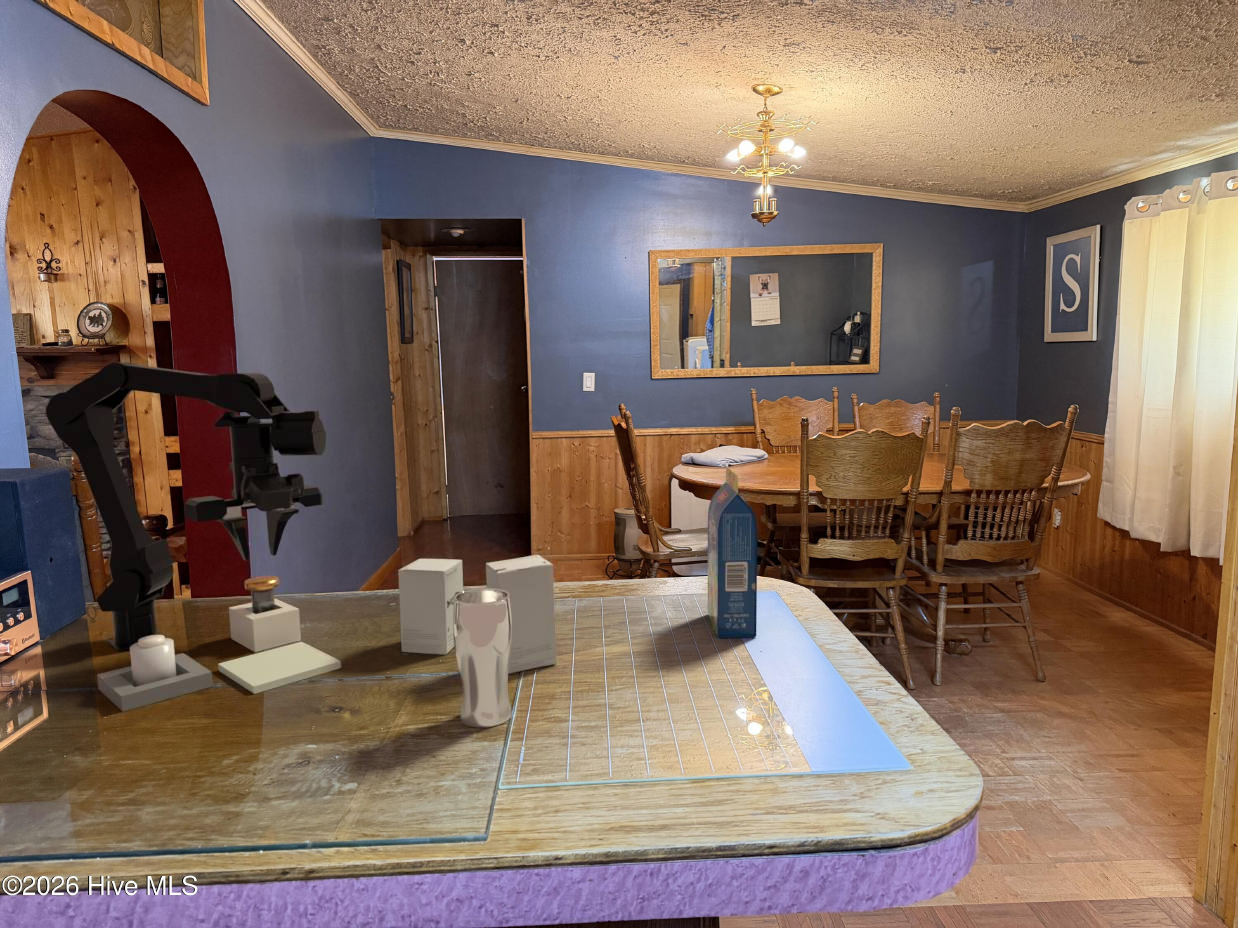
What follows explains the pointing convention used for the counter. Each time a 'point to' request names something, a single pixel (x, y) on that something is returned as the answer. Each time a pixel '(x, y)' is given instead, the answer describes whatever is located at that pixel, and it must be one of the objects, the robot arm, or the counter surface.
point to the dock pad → (278, 667)
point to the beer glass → (483, 654)
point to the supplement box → (428, 604)
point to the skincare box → (528, 609)
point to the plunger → (262, 592)
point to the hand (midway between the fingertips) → (259, 557)
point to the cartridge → (152, 659)
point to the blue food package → (732, 562)
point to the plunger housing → (265, 626)
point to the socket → (154, 684)
